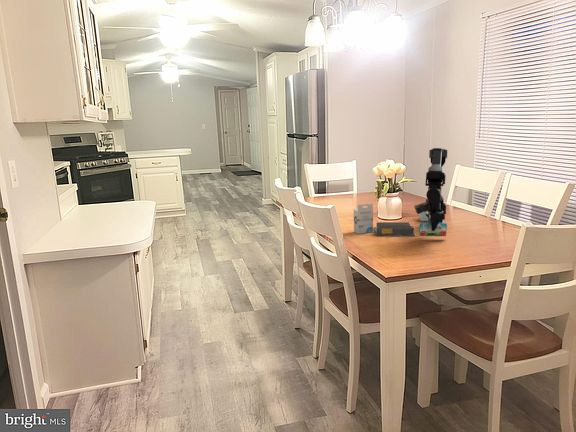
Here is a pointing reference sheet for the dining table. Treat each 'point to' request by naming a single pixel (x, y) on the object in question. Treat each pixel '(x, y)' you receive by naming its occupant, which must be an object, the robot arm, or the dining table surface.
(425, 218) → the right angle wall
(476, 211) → the dining table surface
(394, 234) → the rack
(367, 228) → the ink box
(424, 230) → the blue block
